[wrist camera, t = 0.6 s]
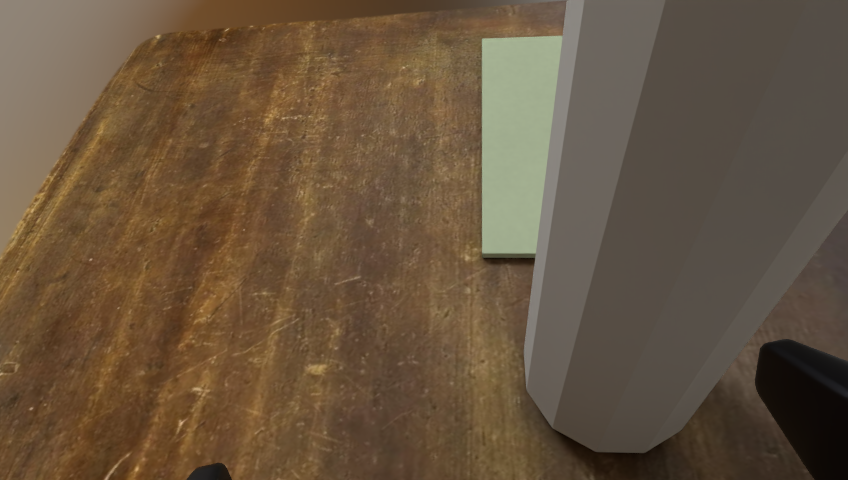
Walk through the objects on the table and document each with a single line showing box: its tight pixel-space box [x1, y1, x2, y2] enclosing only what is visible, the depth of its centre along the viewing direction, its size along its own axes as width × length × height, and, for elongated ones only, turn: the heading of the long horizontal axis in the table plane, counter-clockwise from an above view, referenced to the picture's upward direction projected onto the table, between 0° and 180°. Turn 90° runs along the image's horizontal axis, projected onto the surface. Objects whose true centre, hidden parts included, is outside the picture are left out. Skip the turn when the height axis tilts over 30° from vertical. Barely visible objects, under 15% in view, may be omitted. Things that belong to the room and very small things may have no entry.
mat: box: [482, 36, 563, 258], centre depth 35 cm, size 20×12×1 cm, turn 176°
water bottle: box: [524, 0, 848, 453], centre depth 15 cm, size 9×8×25 cm
